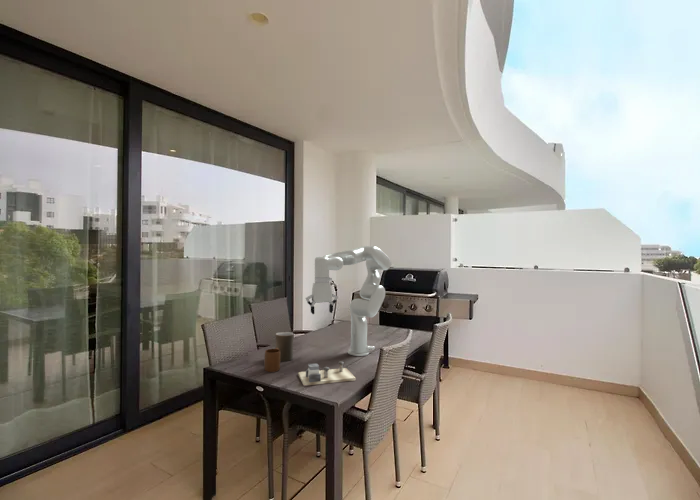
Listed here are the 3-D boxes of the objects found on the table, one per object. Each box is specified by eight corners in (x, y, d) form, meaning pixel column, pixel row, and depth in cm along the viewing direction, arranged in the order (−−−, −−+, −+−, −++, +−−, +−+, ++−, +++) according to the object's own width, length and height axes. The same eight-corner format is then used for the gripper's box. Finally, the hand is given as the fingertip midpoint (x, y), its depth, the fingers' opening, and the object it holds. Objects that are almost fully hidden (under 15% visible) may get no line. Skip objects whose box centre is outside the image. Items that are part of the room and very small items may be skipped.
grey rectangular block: (316, 376, 157) (317, 363, 157) (318, 379, 153) (319, 366, 153) (308, 377, 156) (308, 364, 156) (309, 380, 152) (310, 367, 152)
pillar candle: (289, 362, 180) (290, 333, 180) (271, 360, 182) (272, 332, 182) (295, 357, 190) (296, 330, 190) (279, 355, 192) (280, 328, 192)
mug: (270, 364, 177) (271, 345, 177) (284, 365, 176) (285, 346, 176) (261, 372, 165) (262, 352, 165) (277, 373, 164) (277, 353, 164)
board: (346, 370, 170) (346, 359, 170) (355, 380, 157) (355, 368, 157) (298, 374, 162) (298, 362, 162) (303, 385, 149) (304, 372, 149)
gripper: (335, 279, 186) (335, 310, 186) (304, 280, 180) (304, 313, 180) (339, 280, 179) (339, 313, 179) (307, 281, 173) (307, 315, 173)
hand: (321, 313), depth 180 cm, fingers open, 9 cm apart
